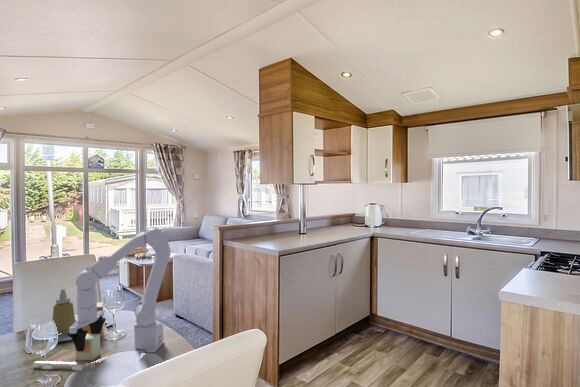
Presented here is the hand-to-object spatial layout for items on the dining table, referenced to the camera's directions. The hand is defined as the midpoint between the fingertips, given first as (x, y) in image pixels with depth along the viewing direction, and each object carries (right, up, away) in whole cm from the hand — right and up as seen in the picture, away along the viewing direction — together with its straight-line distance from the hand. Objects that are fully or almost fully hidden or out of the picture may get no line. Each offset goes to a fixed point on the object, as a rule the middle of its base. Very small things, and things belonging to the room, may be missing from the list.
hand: (88, 345), depth 113 cm
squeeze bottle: (-23, -5, +22) cm, 32 cm away
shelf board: (-3, -5, -1) cm, 6 cm away
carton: (0, -4, 0) cm, 4 cm away
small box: (-9, -5, +17) cm, 20 cm away
